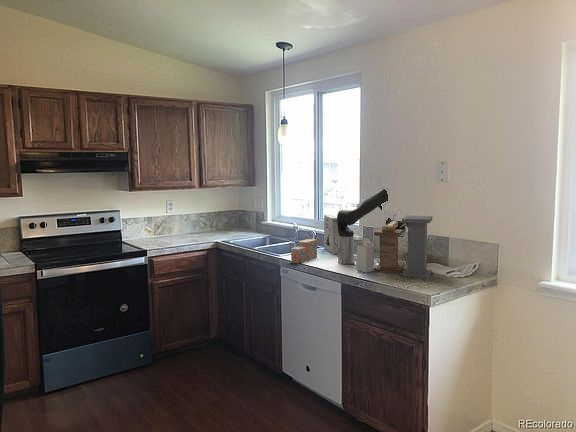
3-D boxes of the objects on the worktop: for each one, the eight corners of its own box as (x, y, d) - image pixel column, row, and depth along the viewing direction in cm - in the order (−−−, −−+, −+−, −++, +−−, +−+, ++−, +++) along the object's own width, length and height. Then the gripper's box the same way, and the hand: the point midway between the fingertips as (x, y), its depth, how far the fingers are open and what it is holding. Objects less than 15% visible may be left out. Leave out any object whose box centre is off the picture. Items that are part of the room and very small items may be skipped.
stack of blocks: (299, 263, 292) (298, 244, 290) (291, 262, 295) (290, 243, 294) (317, 257, 309) (316, 239, 307) (309, 256, 313) (308, 238, 311)
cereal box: (324, 248, 338) (323, 214, 335) (334, 247, 340) (333, 214, 336) (332, 254, 317) (332, 218, 314) (343, 253, 318) (342, 217, 315)
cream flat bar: (392, 232, 262) (392, 227, 262) (382, 231, 265) (382, 226, 264) (400, 226, 283) (400, 221, 283) (390, 226, 285) (390, 221, 285)
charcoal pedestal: (428, 278, 249) (429, 219, 245) (402, 276, 255) (402, 218, 251) (431, 272, 262) (432, 216, 258) (406, 270, 268) (406, 215, 264)
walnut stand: (398, 273, 262) (398, 233, 259) (374, 271, 267) (374, 232, 264) (403, 267, 274) (403, 229, 271) (379, 266, 280) (379, 228, 277)
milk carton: (356, 270, 270) (356, 238, 267) (364, 268, 274) (364, 237, 272) (366, 272, 264) (366, 240, 262) (374, 270, 269) (374, 238, 266)
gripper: (389, 223, 304) (384, 213, 290) (411, 223, 298) (408, 214, 284) (388, 233, 301) (383, 224, 287) (410, 234, 295) (406, 225, 282)
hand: (395, 219), depth 286 cm, fingers open, 8 cm apart
